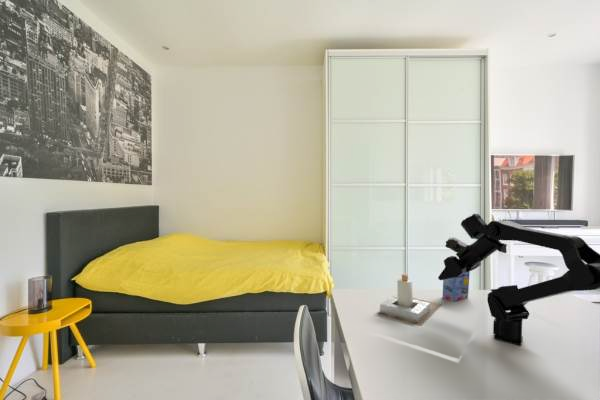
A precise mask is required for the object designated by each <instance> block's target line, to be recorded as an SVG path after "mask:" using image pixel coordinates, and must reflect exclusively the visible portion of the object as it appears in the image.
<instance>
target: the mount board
mask: <svg viewBox="0 0 600 400" xmlns="http://www.w3.org/2000/svg"><path fill="white" fill-rule="evenodd" d="M413 299H414V300H419V301H423V302H428V303H430V312H429V313H428V314H427V315H426V316H425V317H424V318H423V319H422V320H421V321H420V322H419V323H416V322H412V321H409V320H405V319H401V318H397V317H394V316H390V315H386V314H383V313H380V311H379V312H377V313H376V314H377V315H380V316H383V317H388V318H391V319H395V320H398V321H401V322H405V323H409V324H413V325H416V326H419V327H420V326H421V327H422V326H423V325H424V324H425V323H426V322H427V321H428V320H429V319H430V318H432V316H433V315H434V313H435V314H436V312H437V311H438V310H439V309H440V308H441V307H442V306H443V304H442V303H439V302H432V301H429V300H428V301H427V300H424V299H419V298H414V297H413Z"/></svg>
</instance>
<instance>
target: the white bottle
mask: <svg viewBox="0 0 600 400" xmlns="http://www.w3.org/2000/svg"><path fill="white" fill-rule="evenodd" d="M408 277H409V275H408V274H406V273H404V274H403V273H402V274H401V278H399V279H397V281H396V282H397V284H396V285H397V287H396V288H397V289H396V290H397V292H396V293H397V296H398V306H402V307H406V308H410V309H412V308H413V298H414V297H413V280H412V279H408Z"/></svg>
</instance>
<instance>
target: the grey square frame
mask: <svg viewBox="0 0 600 400" xmlns="http://www.w3.org/2000/svg"><path fill="white" fill-rule="evenodd" d="M379 312H380V313H383V314H386V315H390V316H394V317H397V318H401V319H405V320H409V321H412V322H416V323H419V322H420V321H421V320H422V319H423V318H424V317H425V316H426V315H427V314H428V313H429V312H430V303H428V302H423V301H419V300H414V299H413V308H412V309H410V308H406V307H402V306H398V294H397V295H396V294H394V295H392V296H391V297H389V298H387V299H386V300H384V301H383V302H381V303H380V305H379Z"/></svg>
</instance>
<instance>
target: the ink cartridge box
mask: <svg viewBox="0 0 600 400" xmlns="http://www.w3.org/2000/svg"><path fill="white" fill-rule="evenodd" d="M470 273H471V271H468V272H465V273H464V274H462V275H460V276H458V277H454V278H449V279H444V280H442V297H441V298H443V299H445V300H449V301H451V302H458V301H461V300H467V299H468V298H469V288H470V287H469V286H470Z"/></svg>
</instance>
